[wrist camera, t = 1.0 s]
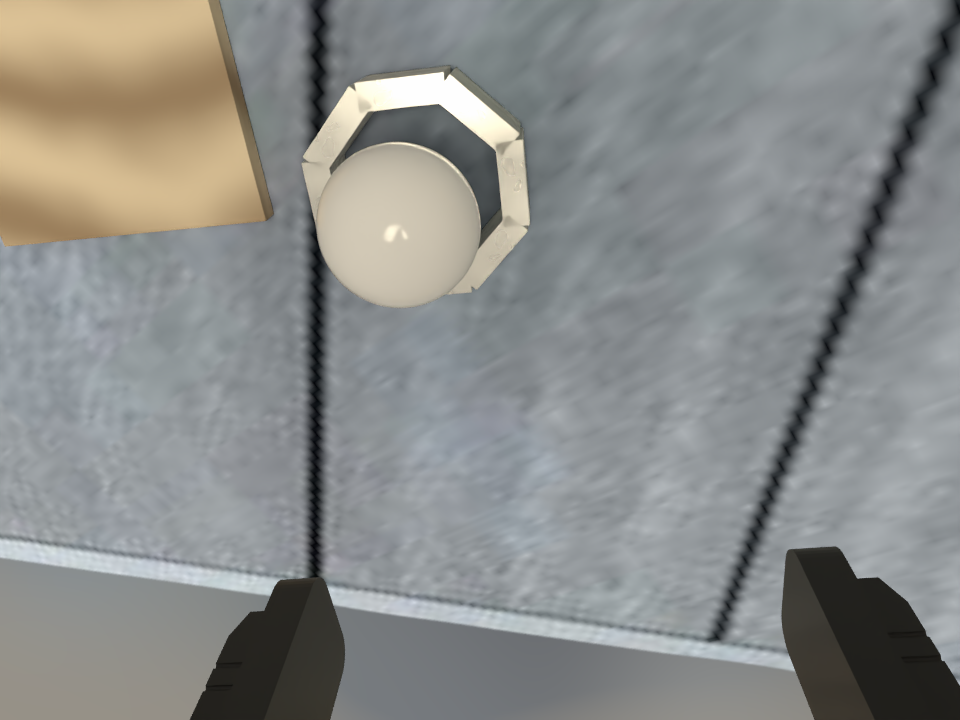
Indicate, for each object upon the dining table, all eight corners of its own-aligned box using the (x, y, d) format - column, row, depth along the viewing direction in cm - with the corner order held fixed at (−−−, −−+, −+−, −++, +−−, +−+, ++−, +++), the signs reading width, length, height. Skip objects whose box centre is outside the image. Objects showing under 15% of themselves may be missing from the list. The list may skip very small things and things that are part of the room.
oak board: (-114, -69, 31) (-137, -70, 30) (189, -115, 29) (176, -119, 28) (20, 239, 37) (5, 246, 36) (273, 214, 36) (265, 220, 35)
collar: (304, 82, 33) (284, 91, 30) (517, 57, 31) (516, 63, 29) (347, 281, 37) (333, 303, 34) (534, 264, 36) (535, 286, 33)
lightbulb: (502, 227, 35) (492, 319, 26) (381, 251, 36) (328, 348, 26) (474, 97, 32) (451, 144, 23) (344, 126, 33) (269, 183, 24)
